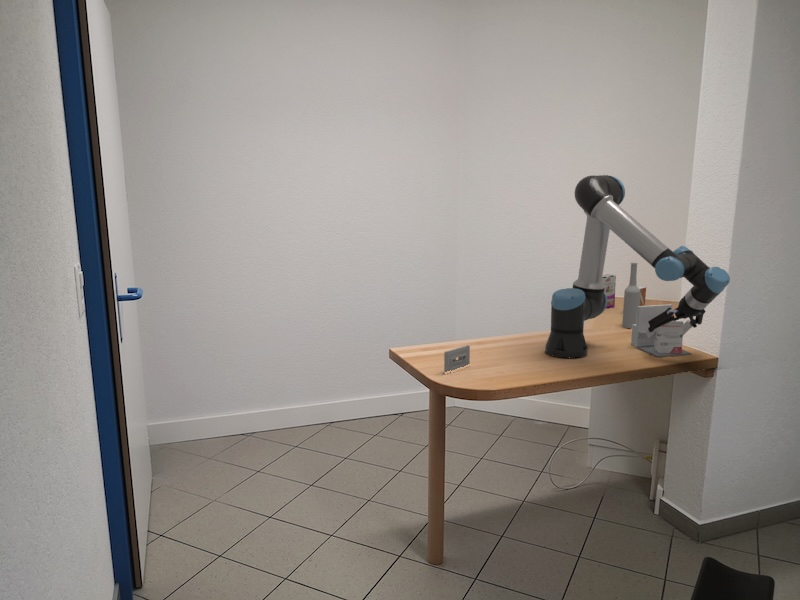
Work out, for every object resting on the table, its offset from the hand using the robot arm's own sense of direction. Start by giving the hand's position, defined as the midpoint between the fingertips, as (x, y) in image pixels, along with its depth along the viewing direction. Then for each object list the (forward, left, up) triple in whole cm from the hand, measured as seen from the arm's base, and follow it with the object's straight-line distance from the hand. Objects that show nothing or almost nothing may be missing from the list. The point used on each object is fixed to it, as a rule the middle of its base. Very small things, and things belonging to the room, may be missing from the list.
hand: (664, 333), depth 218 cm
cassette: (-80, -3, -7) cm, 81 cm away
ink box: (0, -2, -6) cm, 7 cm away
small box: (+26, +59, -7) cm, 64 cm away
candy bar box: (+19, +76, -7) cm, 78 cm away
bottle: (+10, +37, -7) cm, 39 cm away
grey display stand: (0, +2, -7) cm, 7 cm away
